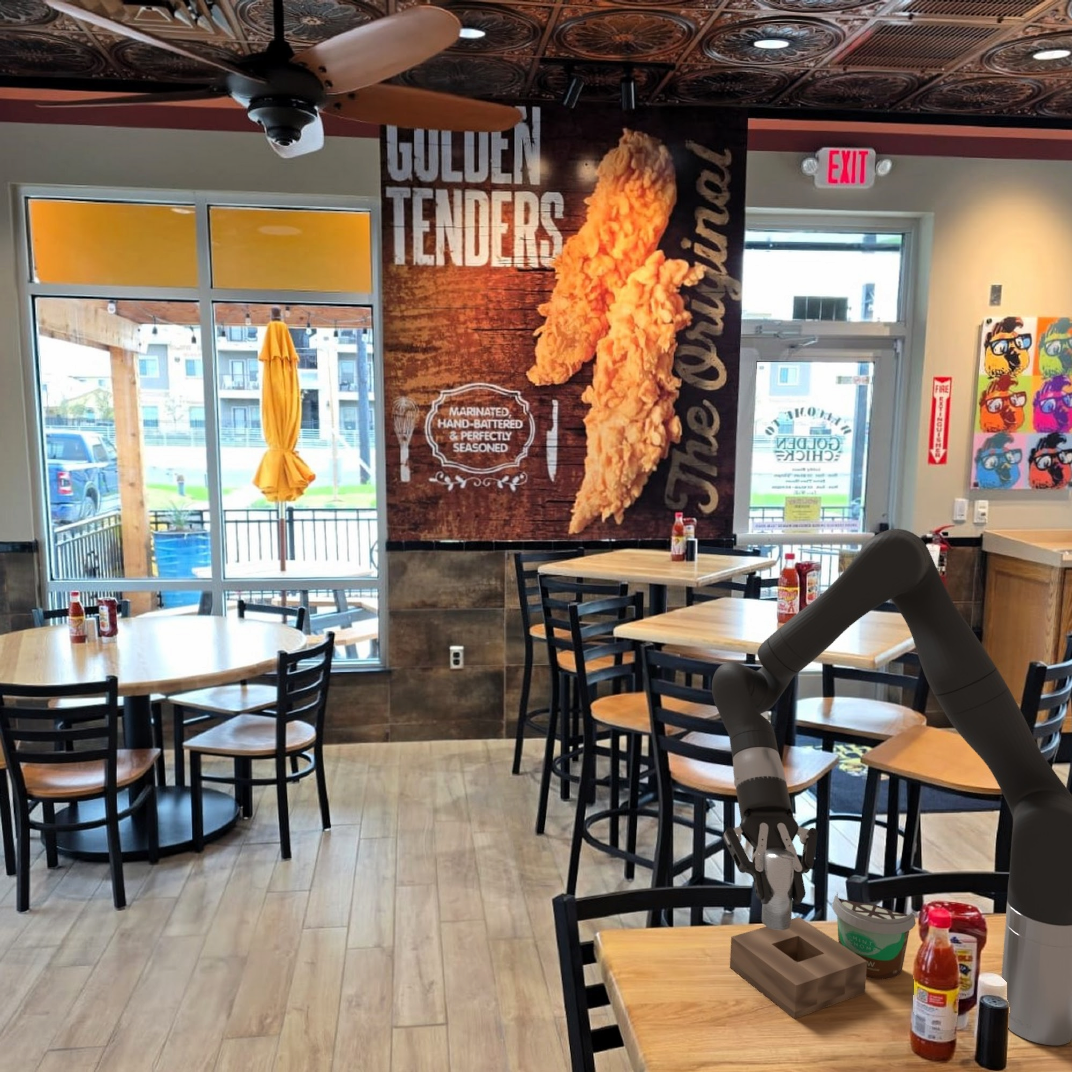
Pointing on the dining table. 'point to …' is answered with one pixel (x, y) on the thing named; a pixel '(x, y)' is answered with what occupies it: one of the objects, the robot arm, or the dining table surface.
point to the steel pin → (778, 888)
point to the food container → (874, 935)
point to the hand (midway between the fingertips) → (782, 901)
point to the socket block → (798, 967)
